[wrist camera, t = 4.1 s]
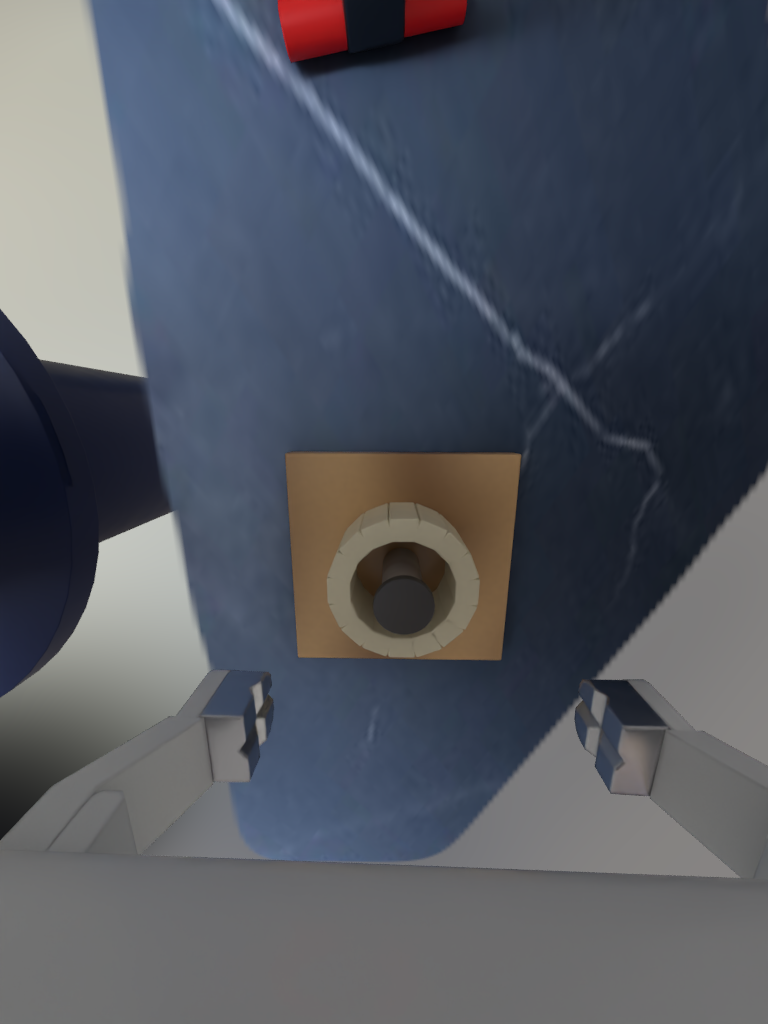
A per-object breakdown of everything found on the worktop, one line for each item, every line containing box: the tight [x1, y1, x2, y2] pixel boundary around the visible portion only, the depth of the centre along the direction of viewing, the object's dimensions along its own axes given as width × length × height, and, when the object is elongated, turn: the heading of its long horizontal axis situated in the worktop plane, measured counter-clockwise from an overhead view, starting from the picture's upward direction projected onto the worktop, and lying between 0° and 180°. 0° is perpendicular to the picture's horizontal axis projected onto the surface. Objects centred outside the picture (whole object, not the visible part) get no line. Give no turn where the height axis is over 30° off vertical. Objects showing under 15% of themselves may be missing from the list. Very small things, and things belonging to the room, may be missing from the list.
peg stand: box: [285, 451, 521, 660], centre depth 16 cm, size 11×11×5 cm
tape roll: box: [327, 502, 480, 658], centre depth 17 cm, size 6×6×3 cm
